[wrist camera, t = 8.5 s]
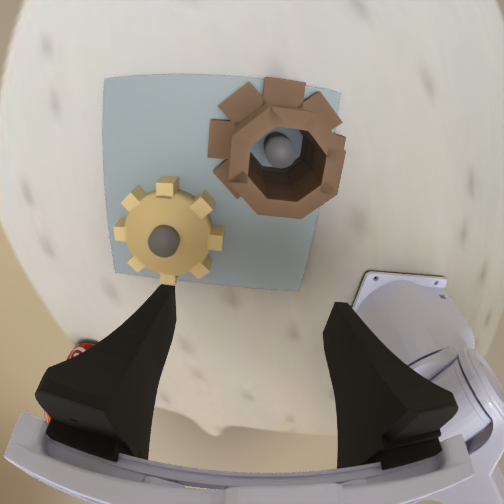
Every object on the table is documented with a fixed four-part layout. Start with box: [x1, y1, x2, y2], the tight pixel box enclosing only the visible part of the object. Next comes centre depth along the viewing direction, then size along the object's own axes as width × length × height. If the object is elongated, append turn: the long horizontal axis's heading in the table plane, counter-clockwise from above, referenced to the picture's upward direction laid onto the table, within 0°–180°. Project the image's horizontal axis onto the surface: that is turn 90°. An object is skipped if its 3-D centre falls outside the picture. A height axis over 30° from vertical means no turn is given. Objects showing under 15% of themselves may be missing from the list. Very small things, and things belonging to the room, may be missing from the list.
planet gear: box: [207, 77, 346, 219], centre depth 14 cm, size 8×8×6 cm
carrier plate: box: [102, 74, 341, 291], centre depth 18 cm, size 15×15×4 cm
